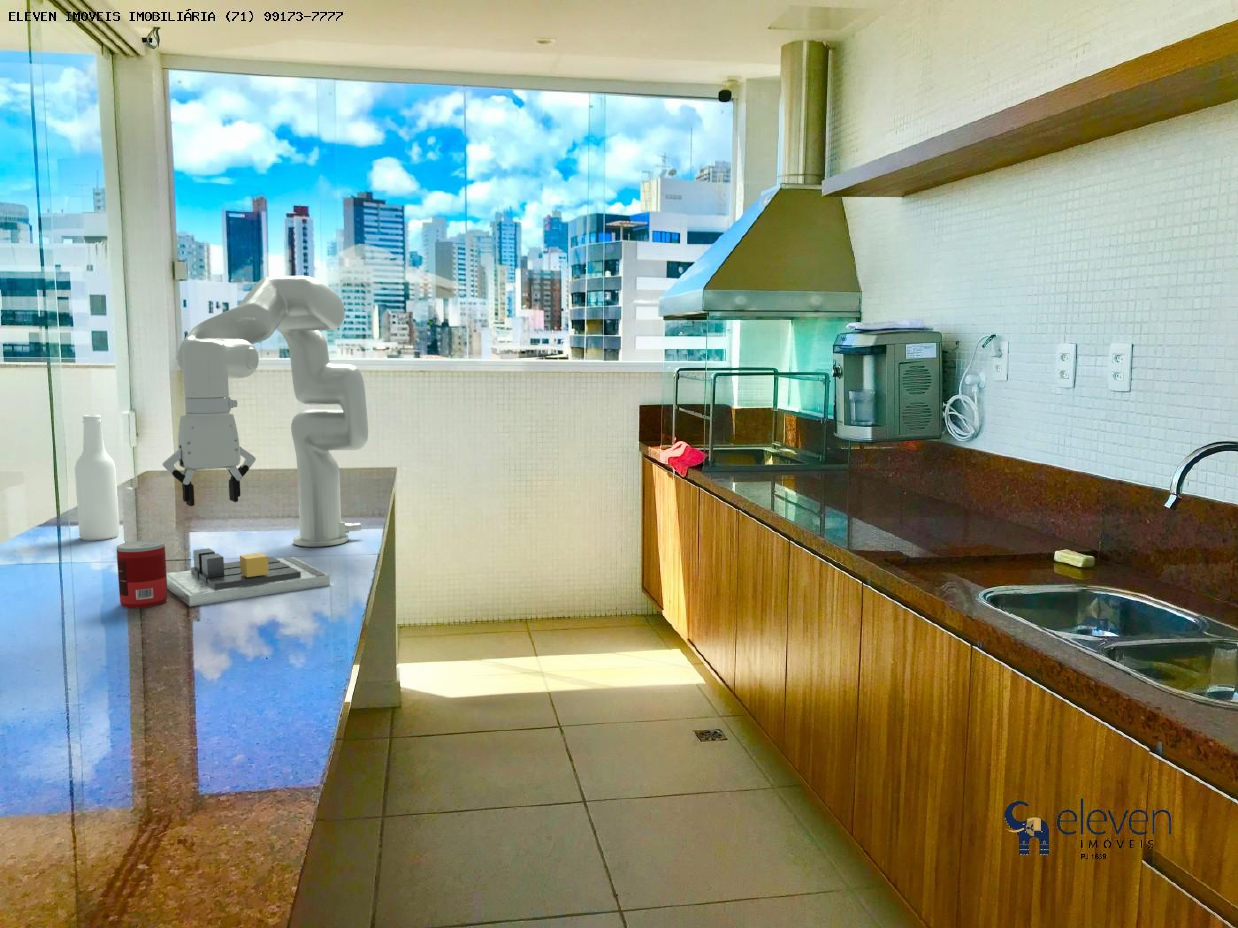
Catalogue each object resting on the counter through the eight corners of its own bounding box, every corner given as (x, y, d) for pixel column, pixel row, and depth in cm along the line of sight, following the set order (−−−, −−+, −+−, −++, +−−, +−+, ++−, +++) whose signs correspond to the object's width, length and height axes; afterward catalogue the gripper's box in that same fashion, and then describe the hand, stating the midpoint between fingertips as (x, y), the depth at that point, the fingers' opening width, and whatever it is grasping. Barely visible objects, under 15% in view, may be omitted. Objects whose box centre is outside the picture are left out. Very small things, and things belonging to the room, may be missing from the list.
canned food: (177, 599, 182) (174, 541, 181) (143, 610, 175) (140, 549, 173) (144, 596, 185) (141, 538, 183) (110, 606, 177) (106, 546, 176)
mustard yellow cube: (261, 570, 191) (261, 552, 191) (268, 574, 188) (267, 556, 187) (240, 573, 189) (239, 555, 188) (247, 577, 186) (246, 558, 185)
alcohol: (71, 539, 239) (62, 416, 235) (102, 532, 247) (94, 413, 243) (97, 542, 236) (89, 417, 232) (128, 535, 244) (120, 414, 240)
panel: (293, 566, 210) (292, 536, 209) (330, 585, 193) (328, 552, 192) (162, 584, 194) (160, 551, 193) (189, 606, 177) (187, 571, 177)
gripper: (249, 404, 188) (254, 496, 191) (151, 408, 178) (157, 505, 180) (262, 406, 182) (266, 501, 185) (161, 410, 172) (166, 510, 174)
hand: (212, 502), depth 182 cm, fingers open, 7 cm apart
